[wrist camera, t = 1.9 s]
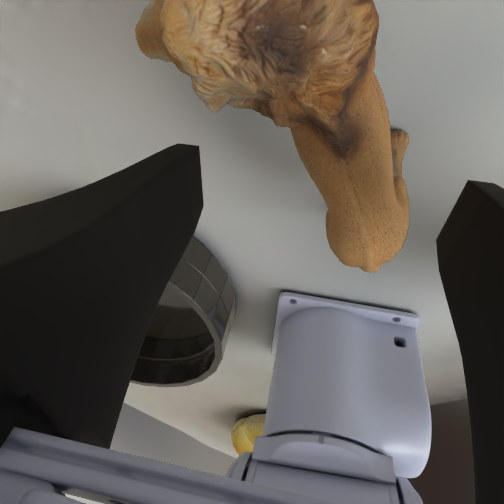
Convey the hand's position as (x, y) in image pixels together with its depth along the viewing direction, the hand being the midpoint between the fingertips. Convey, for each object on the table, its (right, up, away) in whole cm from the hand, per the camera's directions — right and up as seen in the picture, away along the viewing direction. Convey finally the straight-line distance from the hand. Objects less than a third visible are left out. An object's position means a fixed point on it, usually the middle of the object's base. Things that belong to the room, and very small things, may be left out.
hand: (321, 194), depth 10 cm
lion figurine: (+1, +5, +6) cm, 8 cm away
